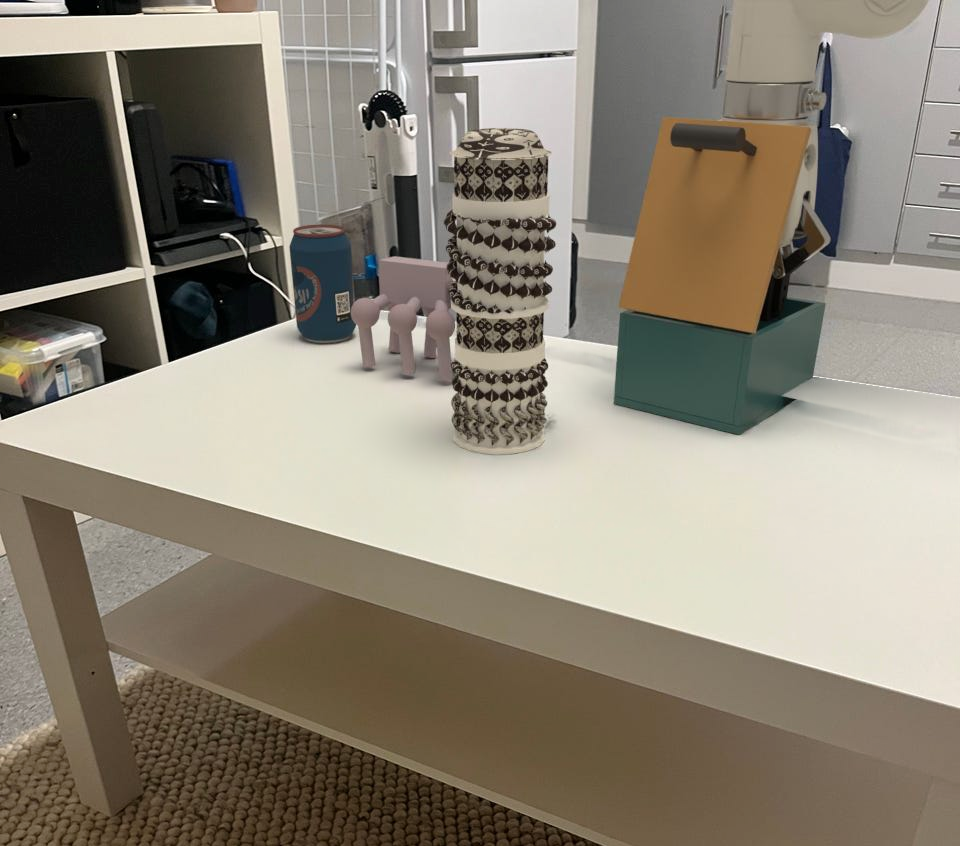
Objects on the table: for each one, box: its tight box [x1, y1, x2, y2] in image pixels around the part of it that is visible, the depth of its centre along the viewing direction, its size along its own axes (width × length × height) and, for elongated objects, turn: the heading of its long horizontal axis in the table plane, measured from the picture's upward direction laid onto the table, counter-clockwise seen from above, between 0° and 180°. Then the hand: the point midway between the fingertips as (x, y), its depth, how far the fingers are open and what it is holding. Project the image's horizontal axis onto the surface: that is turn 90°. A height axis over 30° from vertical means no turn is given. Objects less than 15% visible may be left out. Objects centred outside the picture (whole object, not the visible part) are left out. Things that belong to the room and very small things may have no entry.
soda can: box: [288, 224, 357, 344], centre depth 117 cm, size 7×7×12 cm
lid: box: [618, 116, 812, 334], centre depth 87 cm, size 16×14×5 cm
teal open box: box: [613, 296, 827, 435], centre depth 99 cm, size 16×14×9 cm
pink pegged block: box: [351, 255, 456, 382], centre depth 105 cm, size 20×11×14 cm, turn 62°
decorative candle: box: [443, 127, 557, 455], centre depth 85 cm, size 9×9×25 cm
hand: (739, 311), depth 99 cm, fingers closed on creature, 5 cm apart
